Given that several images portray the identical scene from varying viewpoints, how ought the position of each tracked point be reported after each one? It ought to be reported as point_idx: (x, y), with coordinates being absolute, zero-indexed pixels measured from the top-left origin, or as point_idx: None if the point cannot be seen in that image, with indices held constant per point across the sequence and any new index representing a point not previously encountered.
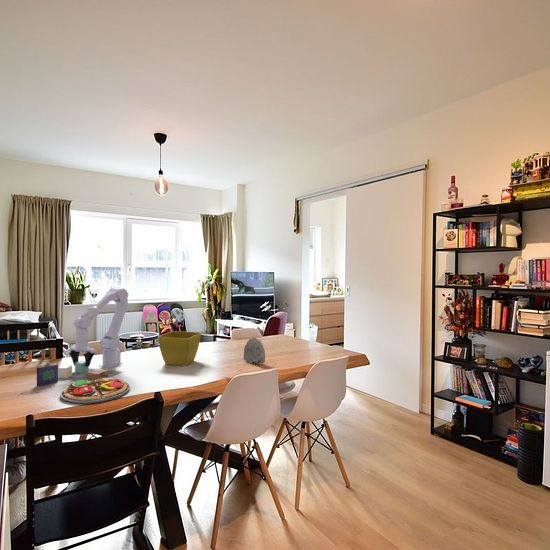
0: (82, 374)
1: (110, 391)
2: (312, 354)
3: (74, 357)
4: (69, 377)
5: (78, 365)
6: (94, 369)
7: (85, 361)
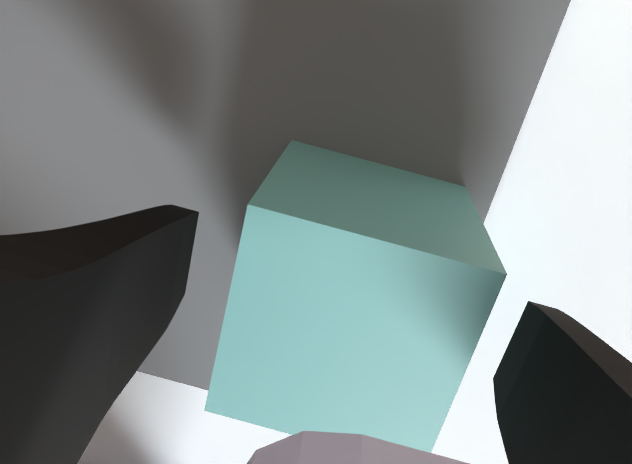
0: (225, 33)
1: None
2: None
3: (619, 453)
4: None
5: (383, 217)
6: (198, 362)
7: (137, 240)
